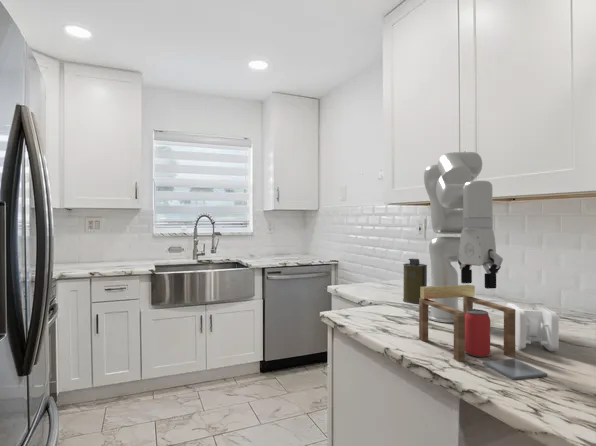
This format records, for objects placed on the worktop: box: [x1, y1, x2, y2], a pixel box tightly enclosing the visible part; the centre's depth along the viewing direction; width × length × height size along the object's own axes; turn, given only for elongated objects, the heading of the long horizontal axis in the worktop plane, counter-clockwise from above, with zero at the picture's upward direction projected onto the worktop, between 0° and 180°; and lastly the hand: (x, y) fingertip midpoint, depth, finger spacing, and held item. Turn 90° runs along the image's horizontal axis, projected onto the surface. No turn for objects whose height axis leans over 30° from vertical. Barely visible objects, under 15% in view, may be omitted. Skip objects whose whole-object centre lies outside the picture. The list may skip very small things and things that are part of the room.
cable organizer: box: [505, 302, 560, 353], centre depth 113 cm, size 15×11×12 cm
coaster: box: [481, 358, 548, 381], centre depth 94 cm, size 10×10×1 cm
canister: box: [402, 258, 428, 304], centre depth 176 cm, size 11×10×20 cm
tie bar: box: [420, 284, 476, 300], centre depth 119 cm, size 2×18×4 cm, turn 103°
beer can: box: [465, 308, 491, 358], centre depth 106 cm, size 7×7×12 cm
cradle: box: [418, 297, 516, 362], centre depth 111 cm, size 20×18×13 cm
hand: (477, 285), depth 105 cm, fingers open, 9 cm apart
